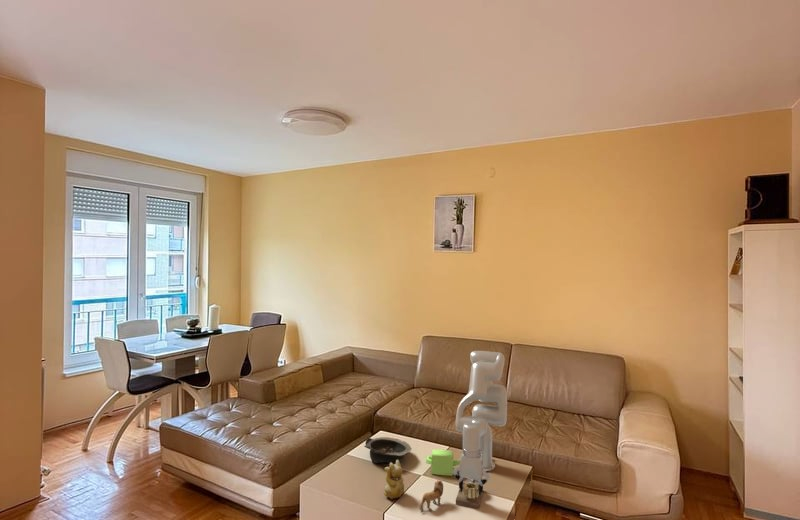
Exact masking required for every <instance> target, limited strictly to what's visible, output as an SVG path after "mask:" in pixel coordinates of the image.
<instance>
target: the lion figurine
mask: <svg viewBox="0 0 800 520" xmlns="http://www.w3.org/2000/svg"><path fill="white" fill-rule="evenodd" d="M443 494H444V483H443V482H442V480H441V479H440V480H439V479H438V480H436V481H435V482H434V487H433V490H431V491H430V492H425V493H424V494H423V496H422V499H421V503H420V505H419V509H420V513H423V512H424V509H423V508H424V504H425V502H426V505H427V506H426V508H427V509H428V511H430V512H431V511H433V509H432V508H430V507H431V502H432V503H433V504H436V503H437V505H438V506H441V505H442V504H441V497H442V496H443ZM436 500H437V502H436Z"/></svg>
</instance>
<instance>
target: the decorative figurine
mask: <svg viewBox="0 0 800 520" xmlns="http://www.w3.org/2000/svg"><path fill="white" fill-rule="evenodd" d="M400 462H401V461H400ZM400 462H399V460H396V464H393V463H390V464H388V465H389V466H386V467H384V471H386V477H385V482H386V483H387V484H385V486H384V492H383V494H384V496H386V497H387V498H389V499H391V500H392V501H394V500H396V499H398V498H401V497H402V495H403V494H404V492H405V483H404V477H403V476H402V475H403V468H402V466H401V463H400Z"/></svg>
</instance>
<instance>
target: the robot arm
mask: <svg viewBox="0 0 800 520" xmlns="http://www.w3.org/2000/svg"><path fill="white" fill-rule="evenodd" d="M469 358H470V362H471V367H470V374H469V375H470V376H469V384H468V385H469V387H468V392H467V394H466V395H465V396H463V398H462V399H461V400H460V401H459V403H458V406H457V409H456V415H455V429H456V430H457V431H458V432H459V433H462V452H461V453H460V458H459V460H460V464H459V465H458V466H457V467H455V468H453V471H452V472H453V476H454V477H455V479H457V481H458V489H460V492H462V484H463V483H464V479H467V480H468V479H474V480H478V482H479V495H481V492H484V485H485V484H486V483H488V481H489V480H491V479H490V478H491V475H489V473H488V472H492V471H493V470H495V468H496V464H495V462H494V461H493V431H492V428H491V426H495V427H504V426H505V425H507V418H508V392H507V391H508V390H507V388H506V386H504V385H502V384H496V383H494V382H499V381H501V379H502V376H503V371H504V368H505V362H506V359H505V355H504V354H503V353H502V352H500V351H499V352H497V351H496V352H495V351H487V350H473V351H471V352H470V354H469ZM493 381H494V382H493ZM476 401H479V402H482V403H477V404H474V406H473V407H472V410H471V415H466V414H465V415H464V411H465V408H466V407H467V406H468V405H470V404H471V403H473V402H476ZM484 403H487V404H484ZM488 403H489V404H488ZM491 404H496V405H491ZM483 476H484V478H483Z"/></svg>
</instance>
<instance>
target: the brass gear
mask: <svg viewBox="0 0 800 520" xmlns="http://www.w3.org/2000/svg"><path fill="white" fill-rule="evenodd" d="M463 483H464V484H462V493H463V495H465V497H469V498H471V497H472V498H473V499H474V498H475V497H478V496H479V485H477V483H473V482H472V481H471V482H469V481H467V483H465V481H463Z"/></svg>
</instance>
